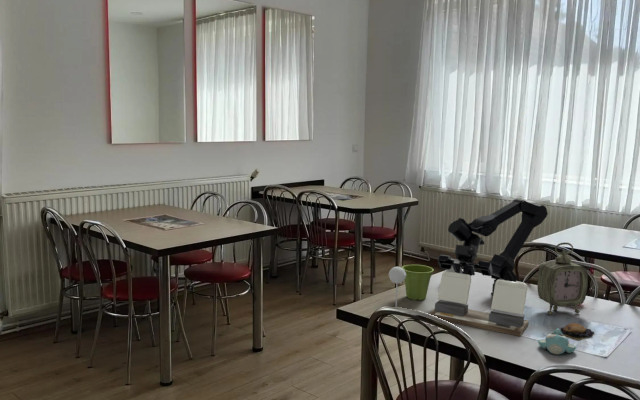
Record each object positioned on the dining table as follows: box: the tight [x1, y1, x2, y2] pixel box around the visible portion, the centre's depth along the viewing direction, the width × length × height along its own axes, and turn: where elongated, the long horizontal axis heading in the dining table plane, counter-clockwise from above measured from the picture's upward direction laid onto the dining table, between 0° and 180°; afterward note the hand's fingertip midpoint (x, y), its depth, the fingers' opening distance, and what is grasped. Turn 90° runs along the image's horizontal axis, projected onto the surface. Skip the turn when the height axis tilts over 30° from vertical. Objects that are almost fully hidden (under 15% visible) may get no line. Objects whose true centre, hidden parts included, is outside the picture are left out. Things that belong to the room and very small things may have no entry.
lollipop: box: [388, 266, 406, 308], centre depth 204 cm, size 6×6×15 cm
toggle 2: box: [490, 280, 528, 315], centre depth 189 cm, size 2×10×10 cm, turn 59°
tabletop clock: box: [537, 242, 589, 316], centre depth 202 cm, size 14×9×25 cm, turn 102°
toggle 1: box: [437, 270, 472, 305], centre depth 199 cm, size 2×10×10 cm, turn 59°
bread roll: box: [559, 322, 596, 341], centre depth 184 cm, size 11×8×4 cm
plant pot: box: [401, 264, 434, 301], centre depth 217 cm, size 12×12×11 cm
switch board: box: [428, 300, 529, 337], centre depth 193 cm, size 12×30×4 cm, turn 59°
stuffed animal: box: [537, 327, 578, 355], centre depth 171 cm, size 11×7×12 cm
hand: (458, 285), depth 202 cm, fingers closed
